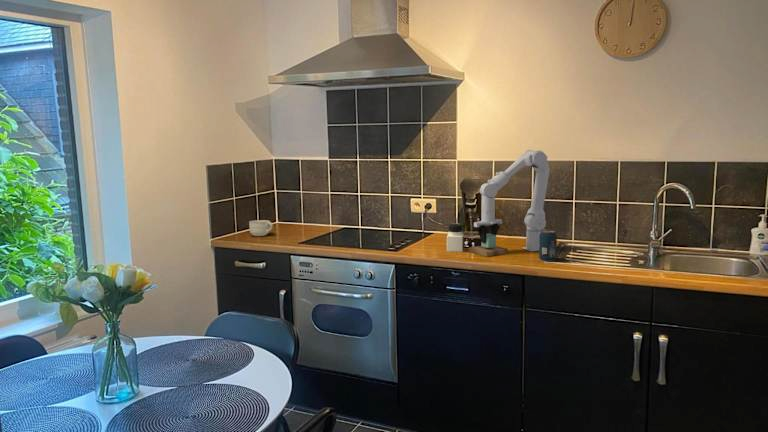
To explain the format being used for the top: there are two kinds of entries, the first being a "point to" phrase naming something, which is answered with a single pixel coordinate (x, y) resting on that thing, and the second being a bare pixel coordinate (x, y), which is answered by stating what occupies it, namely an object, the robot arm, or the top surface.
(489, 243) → the teal block
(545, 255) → the soda can
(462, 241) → the medicine bottle
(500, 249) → the walnut base
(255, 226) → the teacup
